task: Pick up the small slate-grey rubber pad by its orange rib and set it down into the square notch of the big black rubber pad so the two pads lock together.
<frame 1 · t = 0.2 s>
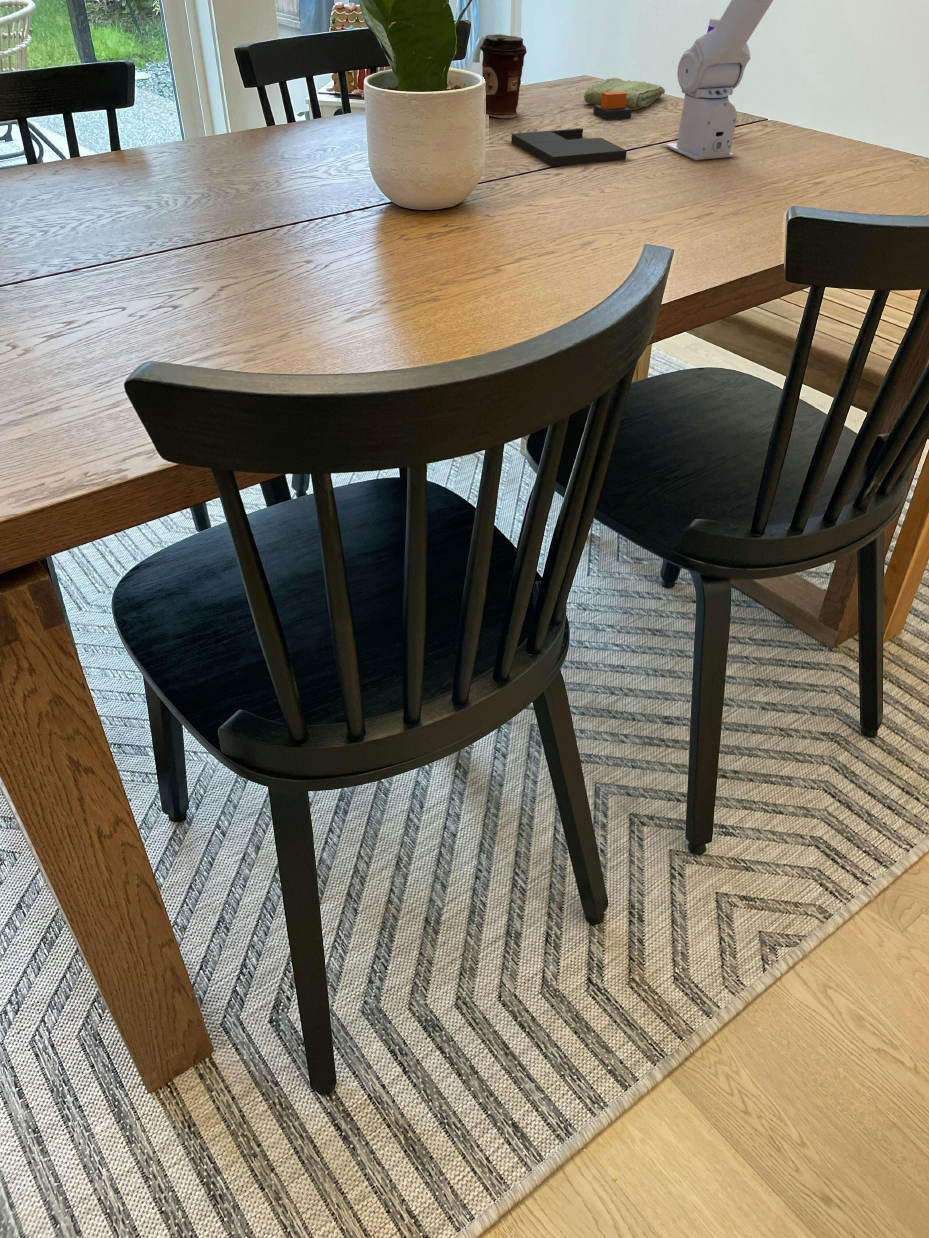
base pad: (567, 151, 159), on the table
connector pad: (611, 116, 180), on the table
coffee cup: (499, 116, 179), on the table
bottle: (702, 126, 176), on the table
washcloth: (622, 102, 191), on the table
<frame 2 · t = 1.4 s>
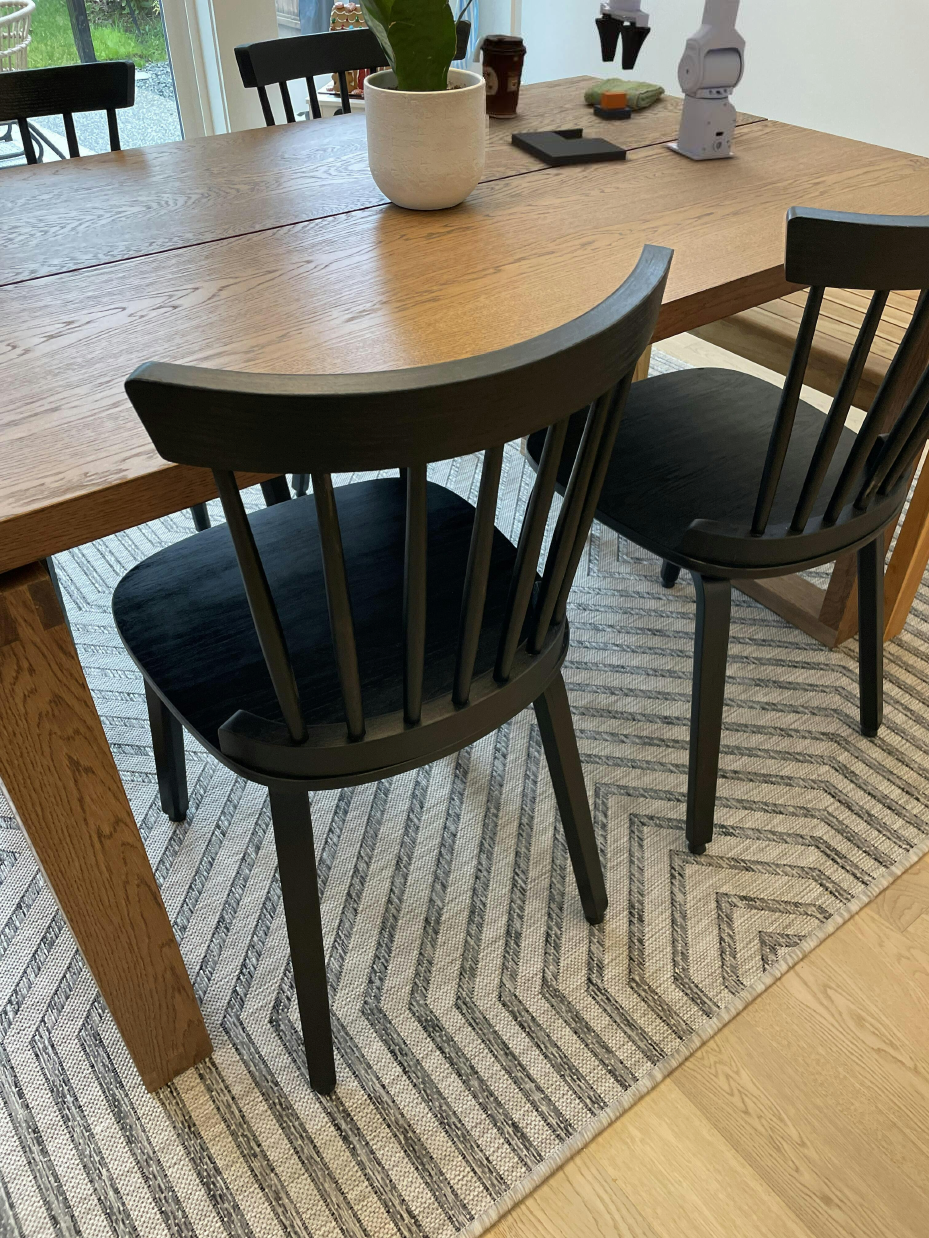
hand: (617, 65, 175), 9 cm above the table, tool pointing down, fingers open, 7 cm apart
nothing on the table moved.
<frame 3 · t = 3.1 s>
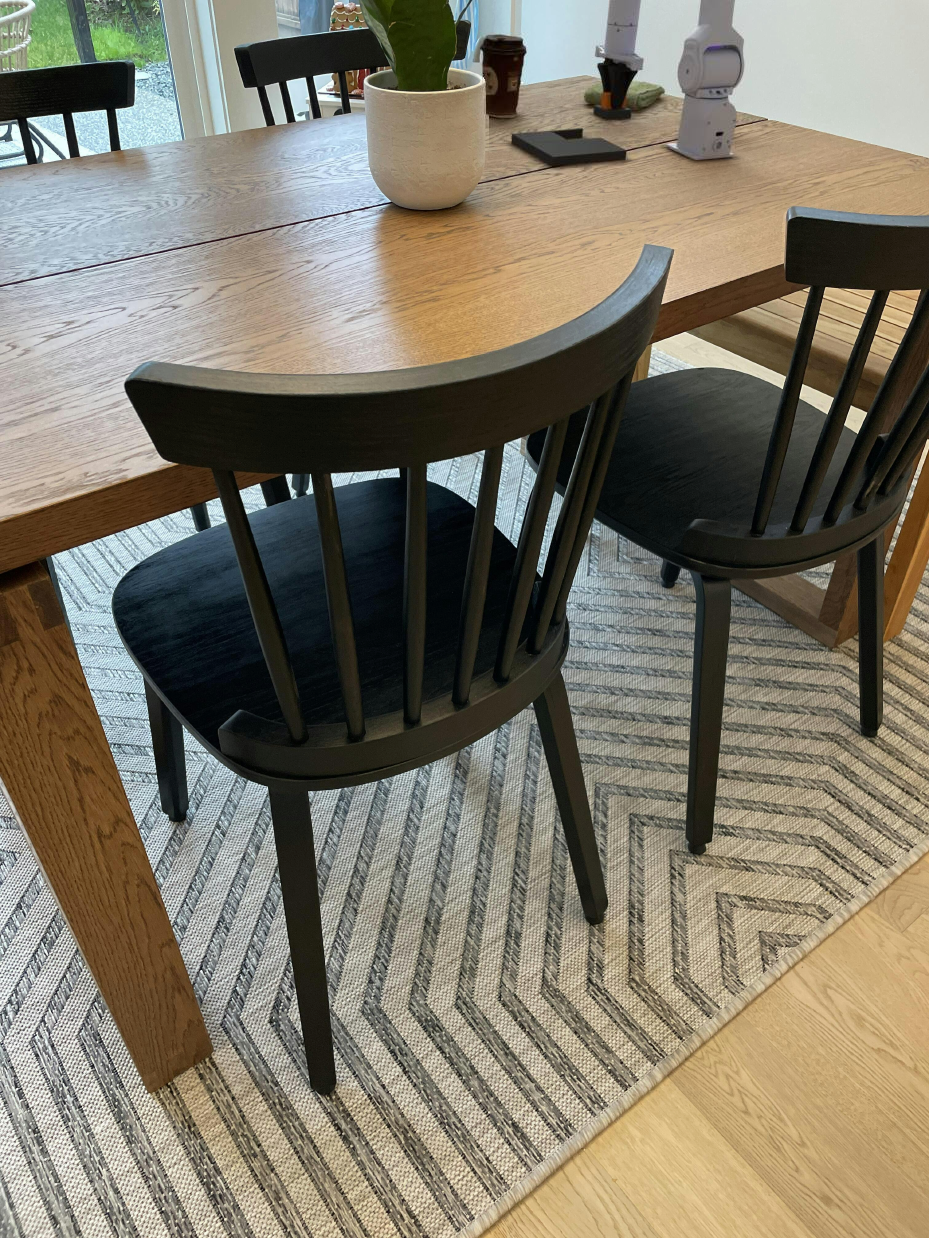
hand: (613, 106, 179), 2 cm above the table, tool pointing down, fingers closed on connector pad, 2 cm apart
connector pad: (611, 116, 180), on the table, touching gripper
everything else where it was.
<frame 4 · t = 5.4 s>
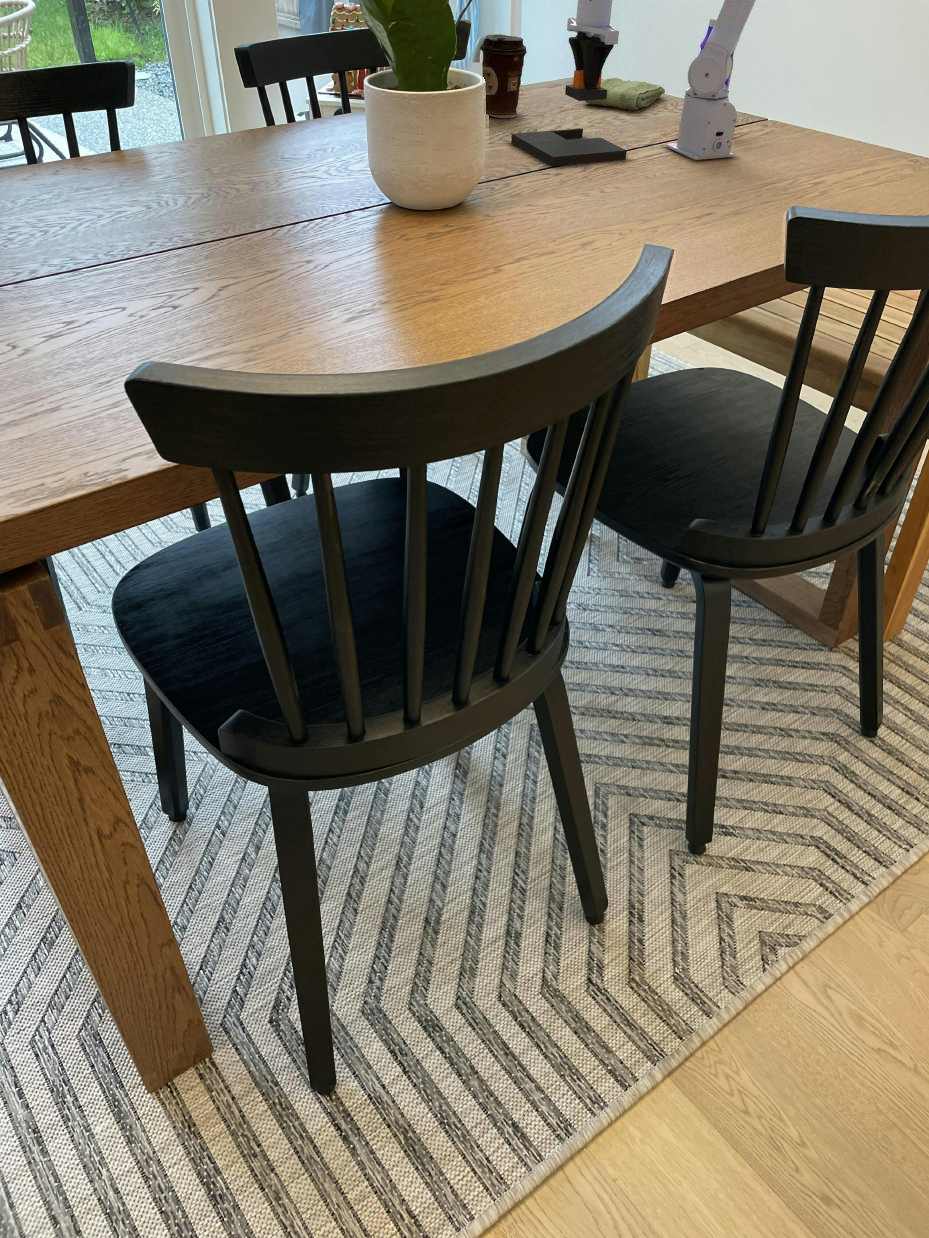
hand: (586, 86, 161), 8 cm above the table, tool pointing down, fingers closed on connector pad
connector pad: (585, 97, 162), point 7 cm above the table, touching gripper
everything else where it was.
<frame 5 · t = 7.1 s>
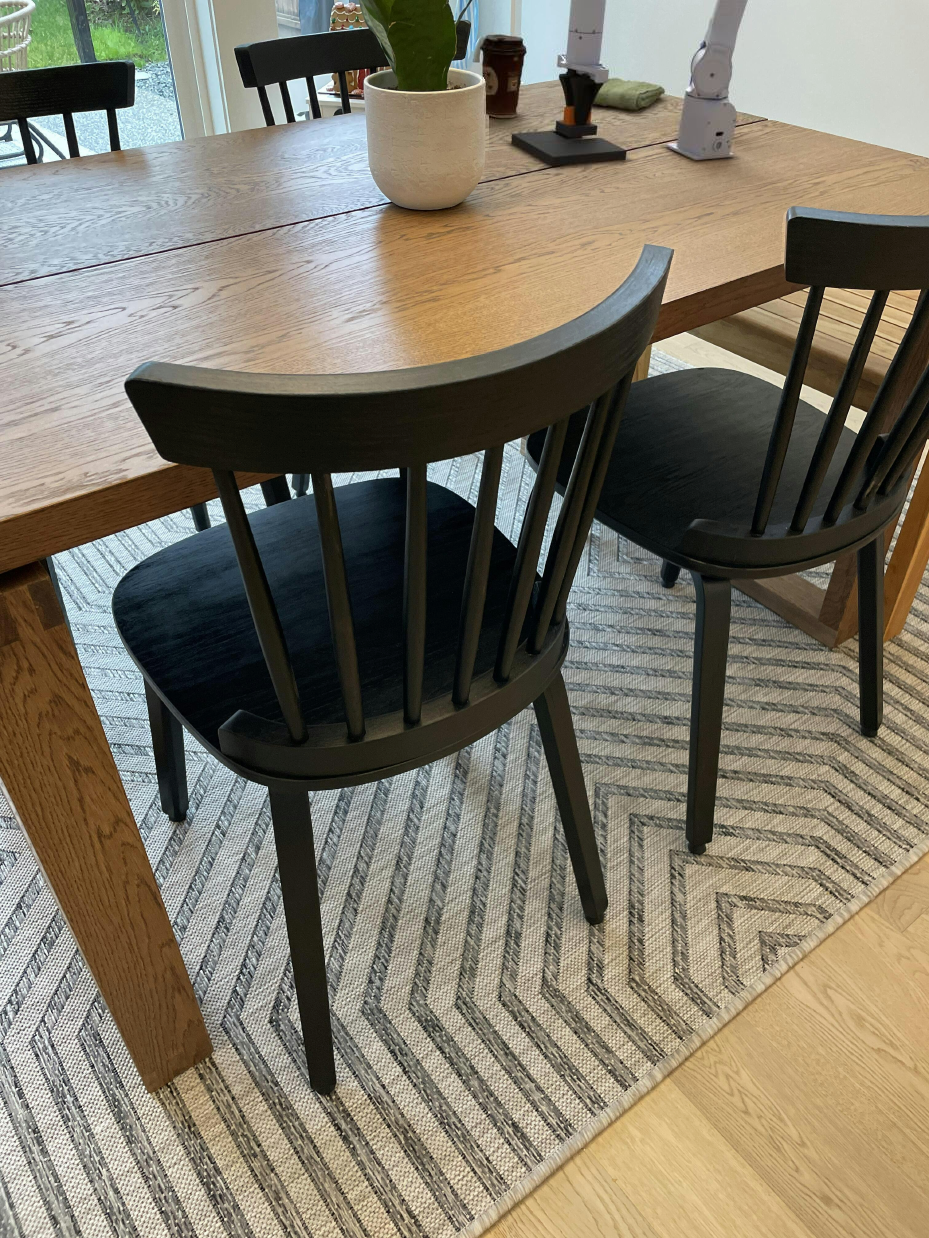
hand: (577, 122, 161), 3 cm above the table, tool pointing down, fingers closed on connector pad, 2 cm apart
connector pad: (575, 132, 162), point 2 cm above the table, touching gripper
everything else where it was.
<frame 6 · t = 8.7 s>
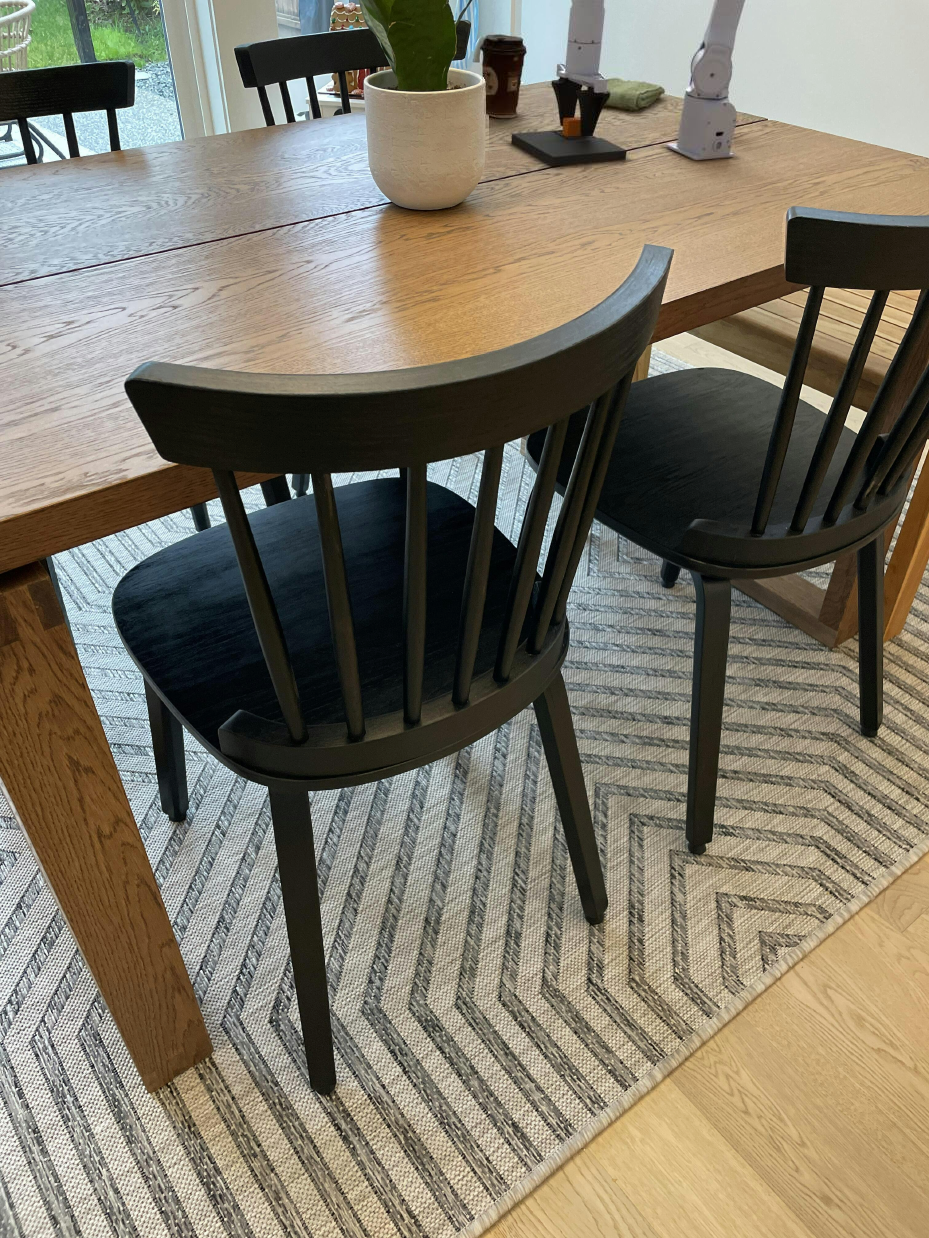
hand: (576, 131, 162), 2 cm above the table, tool pointing down, fingers open, 7 cm apart
connector pad: (574, 143, 163), on the table
everything else where it was.
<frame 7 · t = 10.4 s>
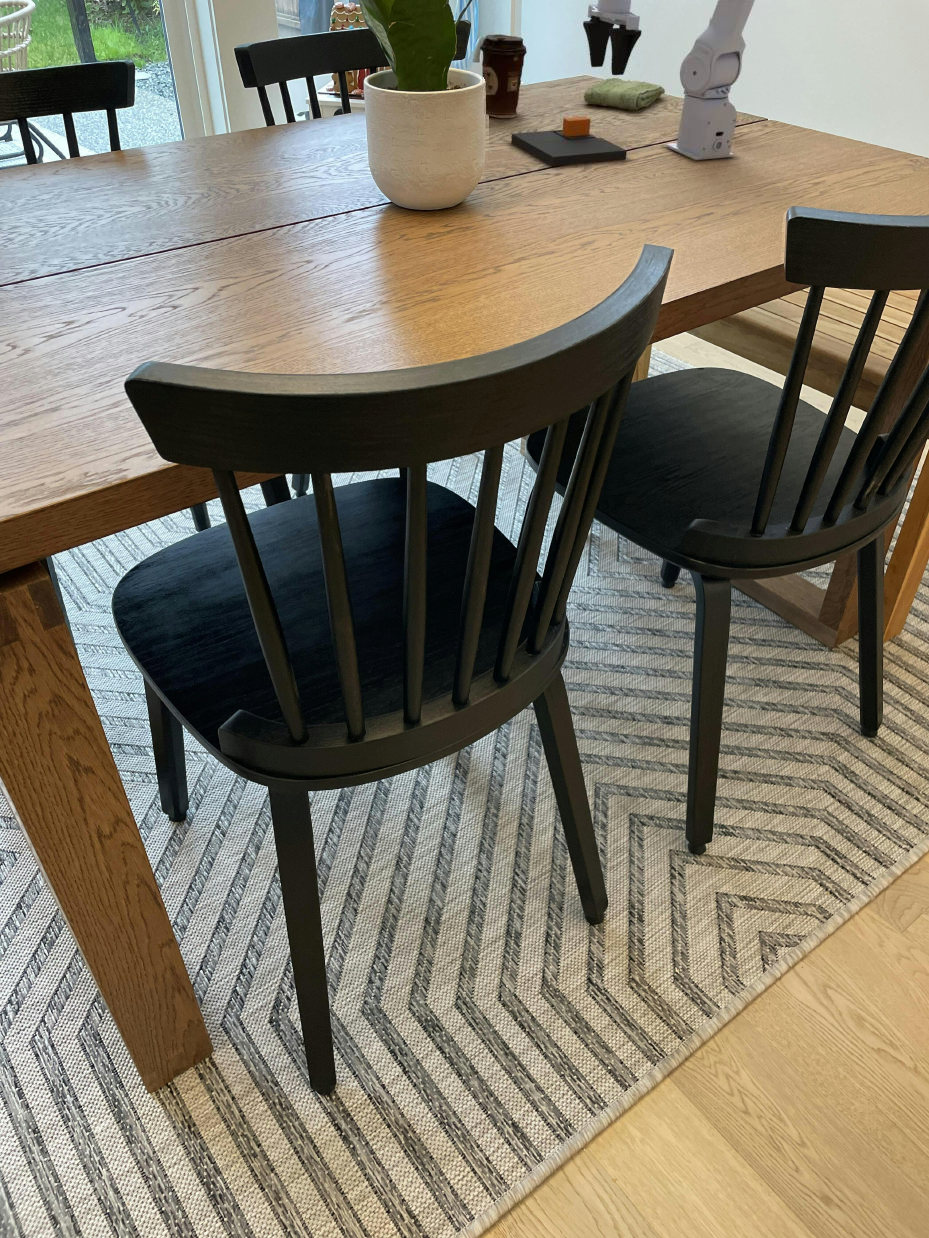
hand: (607, 70, 167), 9 cm above the table, tool pointing down, fingers open, 7 cm apart
nothing on the table moved.
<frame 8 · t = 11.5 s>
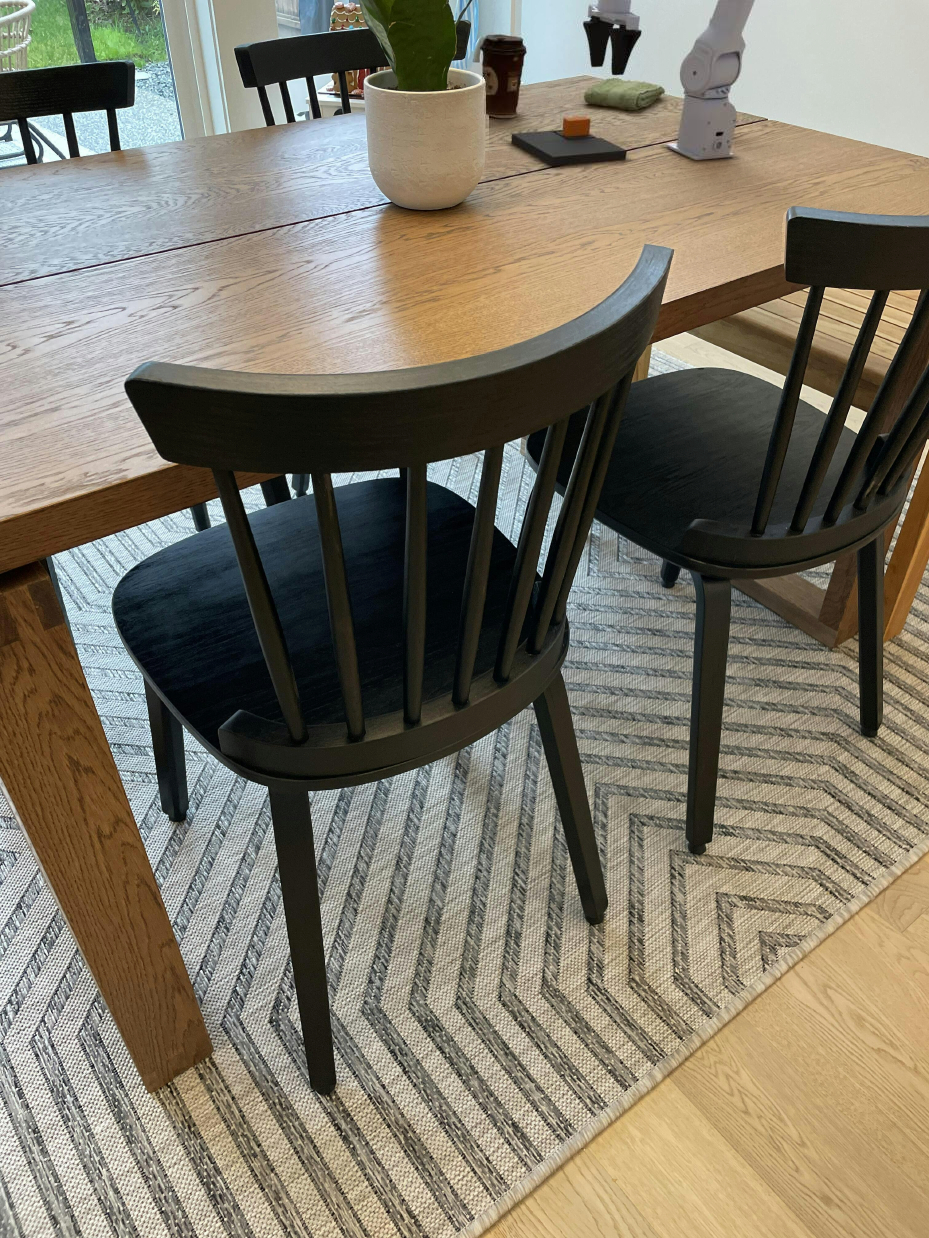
hand: (607, 70, 167), 9 cm above the table, tool pointing down, fingers open, 7 cm apart
nothing on the table moved.
at the end: connector pad 0.1 cm from the target spot on the base pad, point 0.0 cm above the base pad's base; connector pad tilted 0° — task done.
